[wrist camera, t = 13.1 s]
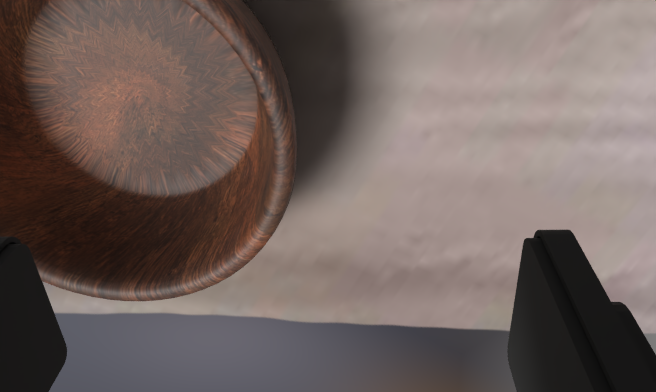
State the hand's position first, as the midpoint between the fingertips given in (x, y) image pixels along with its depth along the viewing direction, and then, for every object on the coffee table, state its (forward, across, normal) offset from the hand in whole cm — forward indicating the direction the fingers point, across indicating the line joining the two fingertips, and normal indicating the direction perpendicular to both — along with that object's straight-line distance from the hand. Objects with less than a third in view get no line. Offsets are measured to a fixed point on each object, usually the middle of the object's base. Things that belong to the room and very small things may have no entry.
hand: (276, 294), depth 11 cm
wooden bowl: (+34, +15, +8) cm, 38 cm away
